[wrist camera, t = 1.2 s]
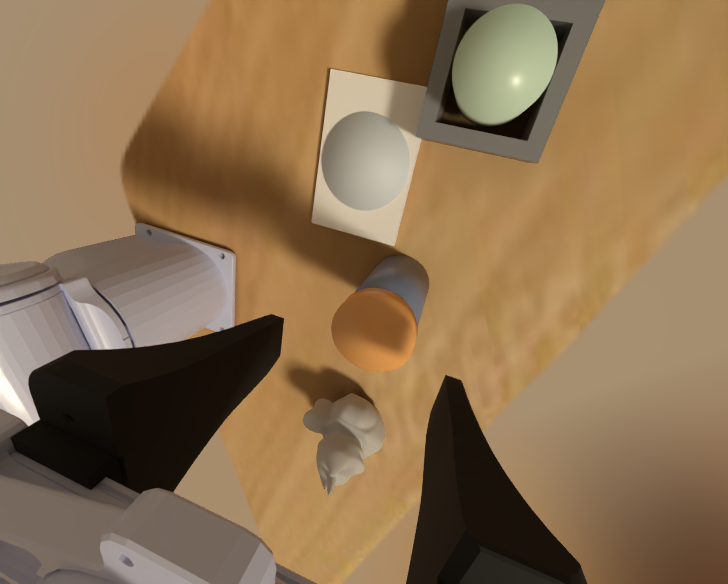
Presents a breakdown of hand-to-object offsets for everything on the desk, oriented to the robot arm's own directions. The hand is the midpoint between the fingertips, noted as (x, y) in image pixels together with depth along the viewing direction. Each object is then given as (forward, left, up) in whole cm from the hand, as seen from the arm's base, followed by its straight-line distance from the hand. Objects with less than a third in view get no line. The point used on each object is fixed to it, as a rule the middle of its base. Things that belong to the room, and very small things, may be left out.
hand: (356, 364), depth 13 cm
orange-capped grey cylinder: (0, 0, -10) cm, 10 cm away
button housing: (+2, +12, -10) cm, 16 cm away
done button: (+2, +12, -8) cm, 15 cm away
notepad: (-4, +7, -10) cm, 13 cm away
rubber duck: (-1, -12, -10) cm, 16 cm away
